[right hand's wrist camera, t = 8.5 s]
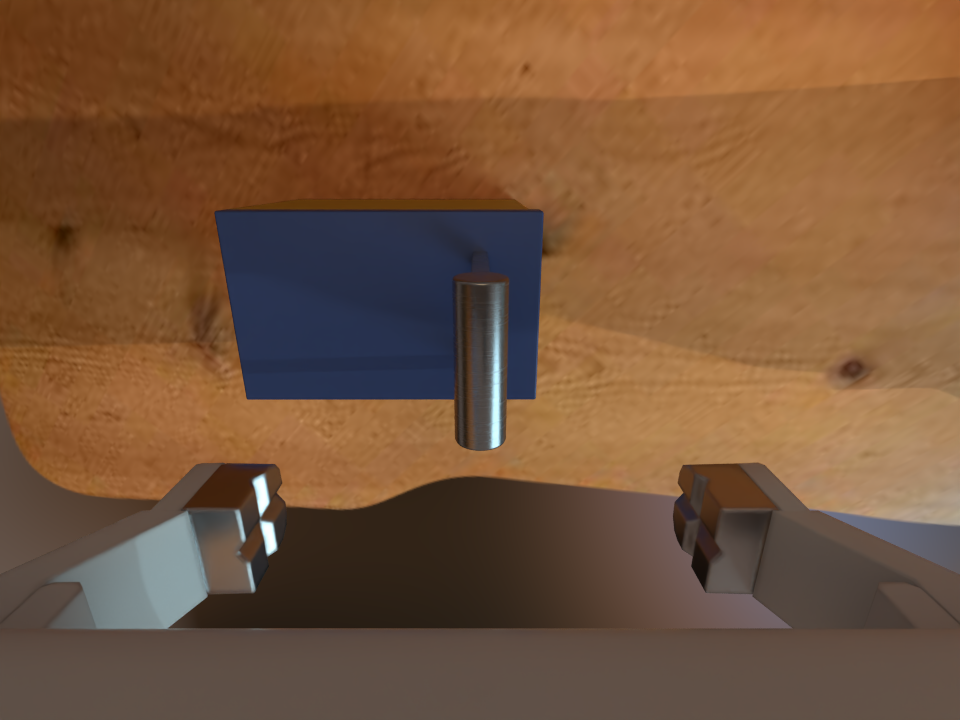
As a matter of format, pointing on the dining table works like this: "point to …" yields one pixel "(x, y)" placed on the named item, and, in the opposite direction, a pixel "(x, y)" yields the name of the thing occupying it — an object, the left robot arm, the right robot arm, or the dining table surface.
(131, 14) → the dining table surface
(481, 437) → the lid
